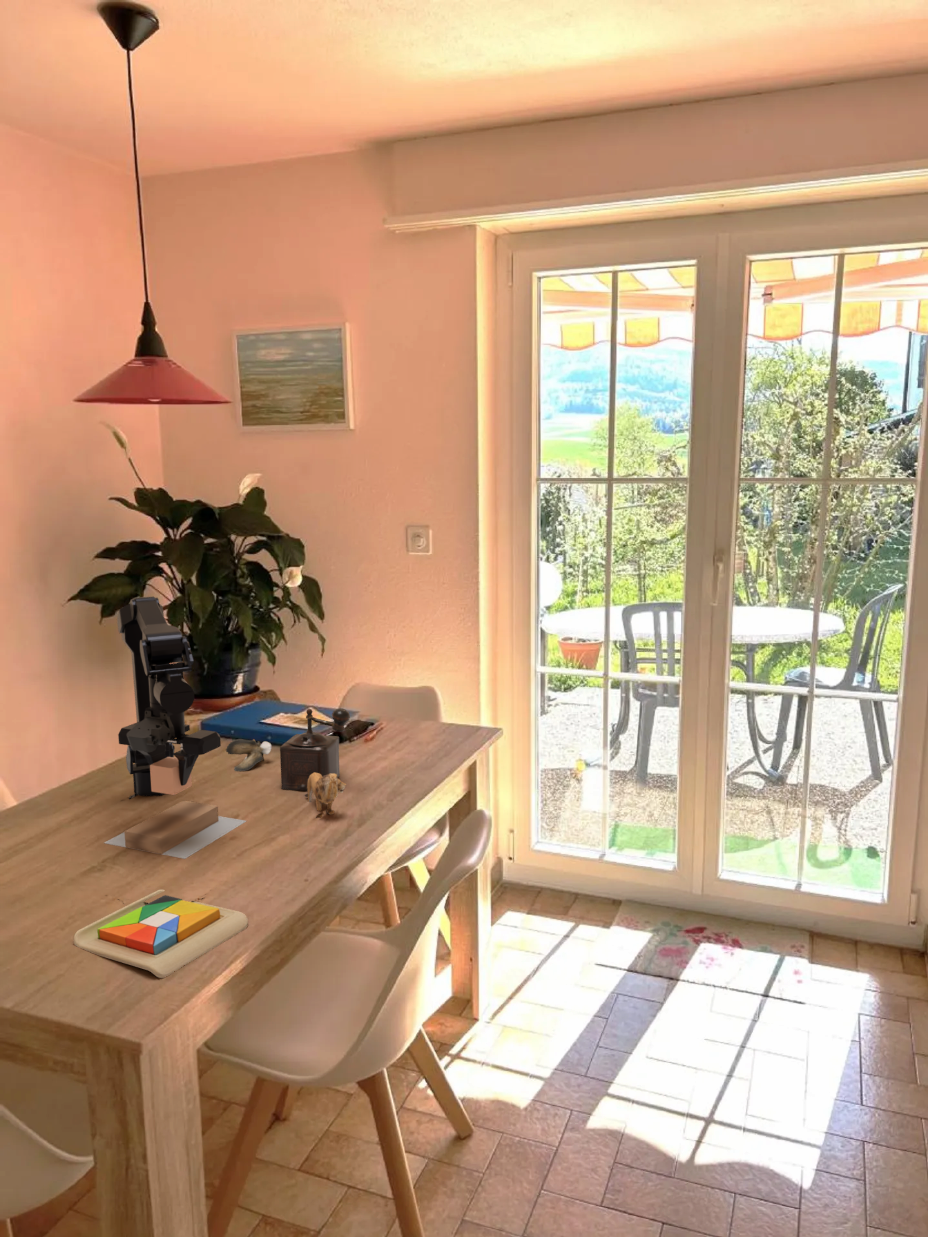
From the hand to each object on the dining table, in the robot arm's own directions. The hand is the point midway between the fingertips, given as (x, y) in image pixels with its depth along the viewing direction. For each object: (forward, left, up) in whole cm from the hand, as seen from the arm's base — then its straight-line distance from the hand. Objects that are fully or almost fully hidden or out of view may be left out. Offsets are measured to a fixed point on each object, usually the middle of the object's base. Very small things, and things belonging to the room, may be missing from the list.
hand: (171, 783), depth 163 cm
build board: (0, +1, -11) cm, 11 cm away
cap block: (0, 0, -1) cm, 1 cm away
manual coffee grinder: (+10, +36, -11) cm, 39 cm away
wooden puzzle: (+21, -28, -12) cm, 37 cm away
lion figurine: (+18, +23, -11) cm, 31 cm away
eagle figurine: (-12, +41, -11) cm, 44 cm away
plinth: (0, 0, -10) cm, 10 cm away
